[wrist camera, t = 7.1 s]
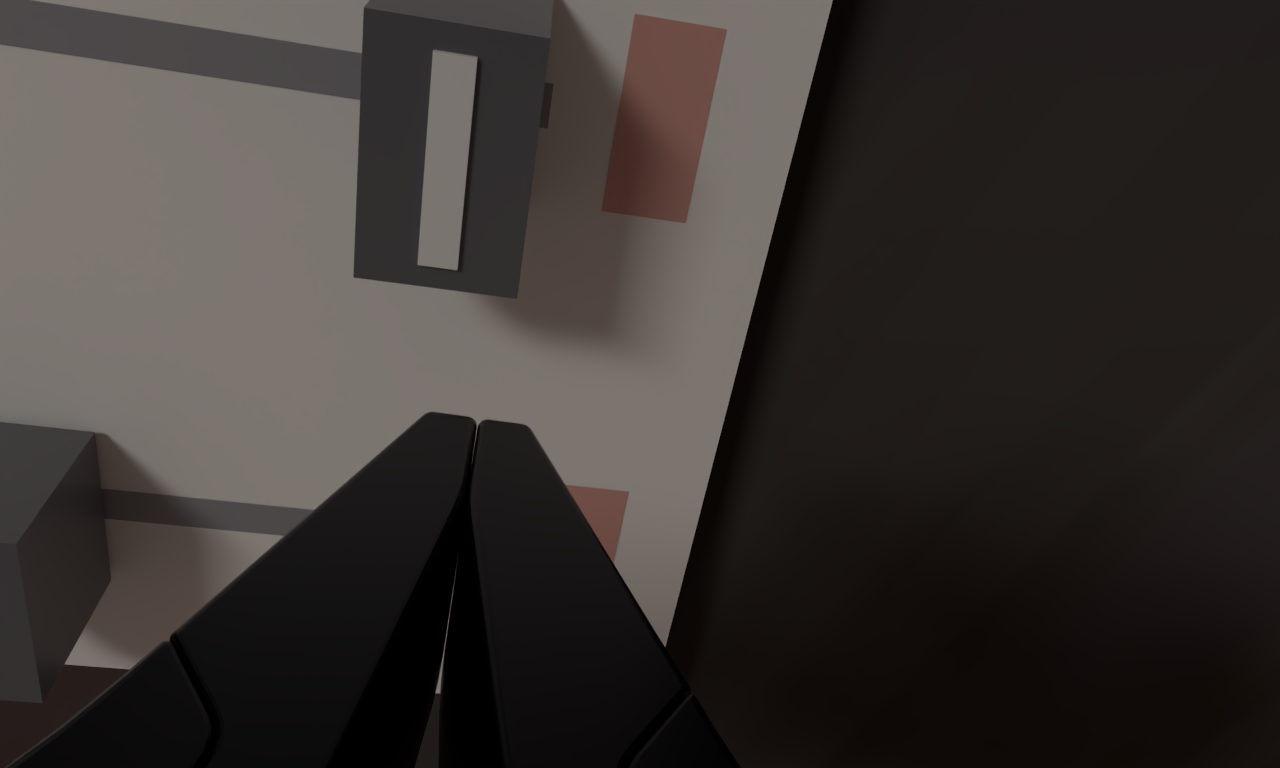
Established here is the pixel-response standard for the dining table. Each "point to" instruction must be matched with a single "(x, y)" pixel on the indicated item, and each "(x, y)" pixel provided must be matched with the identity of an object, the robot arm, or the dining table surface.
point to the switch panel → (368, 309)
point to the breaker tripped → (448, 140)
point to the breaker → (47, 552)
